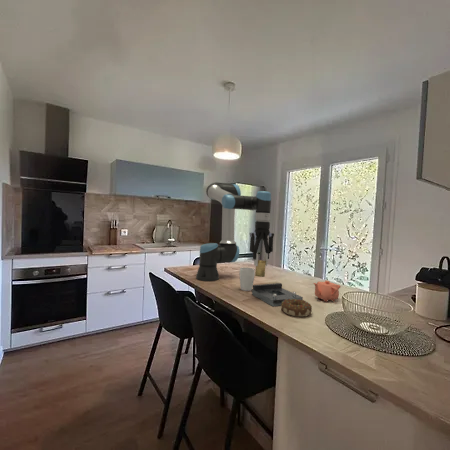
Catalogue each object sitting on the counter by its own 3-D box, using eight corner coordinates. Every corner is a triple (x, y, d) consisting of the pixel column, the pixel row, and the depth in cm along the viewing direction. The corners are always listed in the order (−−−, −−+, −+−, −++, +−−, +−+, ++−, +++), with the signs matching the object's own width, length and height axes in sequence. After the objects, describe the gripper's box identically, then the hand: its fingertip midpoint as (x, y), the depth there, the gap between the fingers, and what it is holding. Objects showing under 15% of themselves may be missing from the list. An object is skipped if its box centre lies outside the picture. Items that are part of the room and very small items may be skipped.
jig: (251, 294, 146) (252, 284, 146) (279, 291, 154) (279, 282, 154) (272, 306, 128) (273, 295, 128) (302, 303, 136) (303, 292, 135)
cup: (253, 292, 151) (254, 271, 150) (237, 290, 153) (238, 269, 152) (254, 288, 160) (255, 268, 159) (239, 286, 162) (240, 267, 161)
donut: (318, 315, 120) (318, 304, 120) (296, 320, 113) (297, 308, 112) (294, 305, 132) (294, 295, 132) (273, 309, 125) (274, 299, 125)
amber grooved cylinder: (253, 274, 141) (254, 259, 141) (261, 274, 143) (262, 259, 143) (258, 276, 136) (259, 261, 136) (266, 276, 138) (267, 261, 138)
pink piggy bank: (317, 294, 153) (318, 276, 152) (340, 298, 147) (341, 280, 146) (311, 300, 141) (312, 281, 140) (335, 305, 134) (337, 285, 134)
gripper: (250, 220, 132) (248, 267, 133) (281, 221, 139) (279, 266, 140) (243, 220, 139) (241, 264, 140) (273, 221, 146) (271, 263, 147)
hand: (260, 265), depth 140 cm, fingers closed on amber grooved cylinder, 5 cm apart
